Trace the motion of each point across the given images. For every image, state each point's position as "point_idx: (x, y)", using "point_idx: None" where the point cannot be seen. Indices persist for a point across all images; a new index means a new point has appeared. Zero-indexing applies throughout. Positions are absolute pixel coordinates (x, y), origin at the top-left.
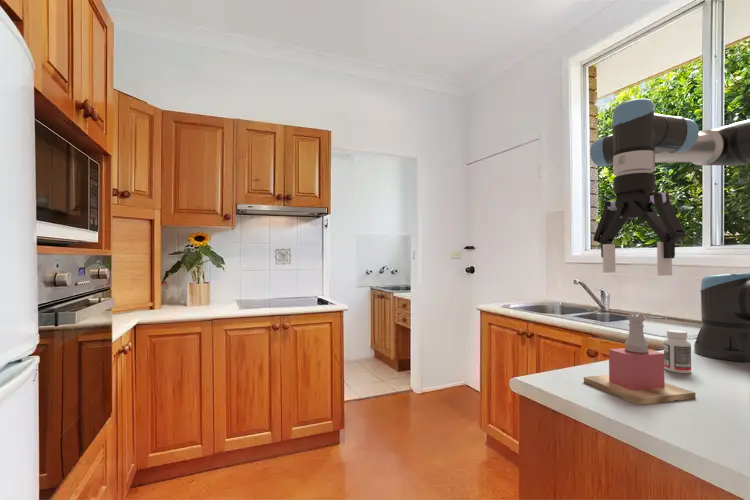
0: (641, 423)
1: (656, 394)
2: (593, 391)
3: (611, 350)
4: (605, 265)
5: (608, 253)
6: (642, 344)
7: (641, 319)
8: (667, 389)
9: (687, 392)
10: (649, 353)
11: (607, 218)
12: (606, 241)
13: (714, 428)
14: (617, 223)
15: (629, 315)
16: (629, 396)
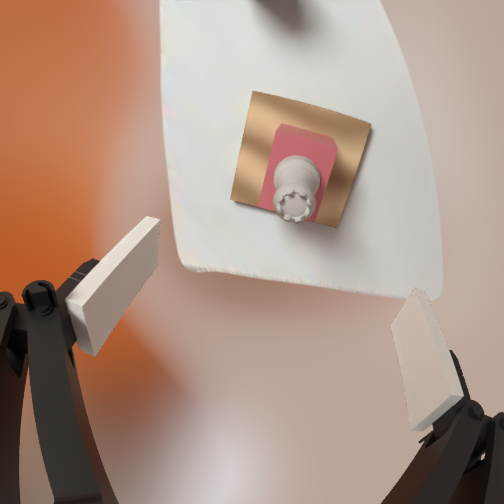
0: (363, 276)
1: (342, 186)
2: (268, 222)
3: (264, 208)
4: (144, 282)
5: (116, 306)
6: (314, 191)
7: (313, 211)
8: (340, 145)
9: (364, 134)
10: (321, 173)
11: (9, 471)
12: (67, 345)
13: (417, 226)
14: (110, 487)
15: (283, 216)
16: (321, 223)
